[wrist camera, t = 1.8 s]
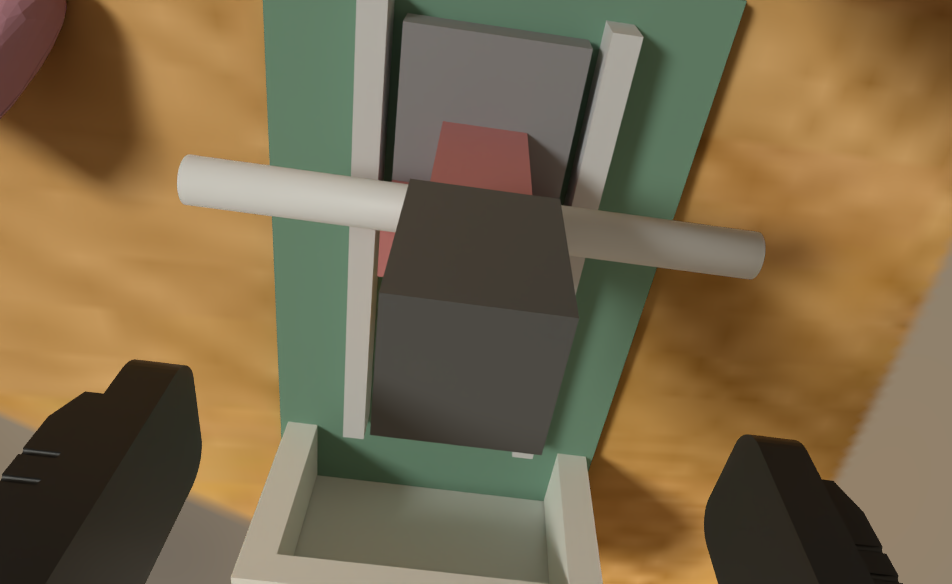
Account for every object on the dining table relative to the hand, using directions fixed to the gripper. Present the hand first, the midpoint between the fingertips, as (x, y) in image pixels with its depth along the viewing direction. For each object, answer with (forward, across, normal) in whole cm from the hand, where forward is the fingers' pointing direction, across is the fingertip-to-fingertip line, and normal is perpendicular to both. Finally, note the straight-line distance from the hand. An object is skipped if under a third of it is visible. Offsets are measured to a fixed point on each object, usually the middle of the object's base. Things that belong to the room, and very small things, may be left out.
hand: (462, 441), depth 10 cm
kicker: (+13, 0, 0) cm, 13 cm away
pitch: (+13, 0, +6) cm, 15 cm away
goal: (+13, 0, +15) cm, 20 cm away
